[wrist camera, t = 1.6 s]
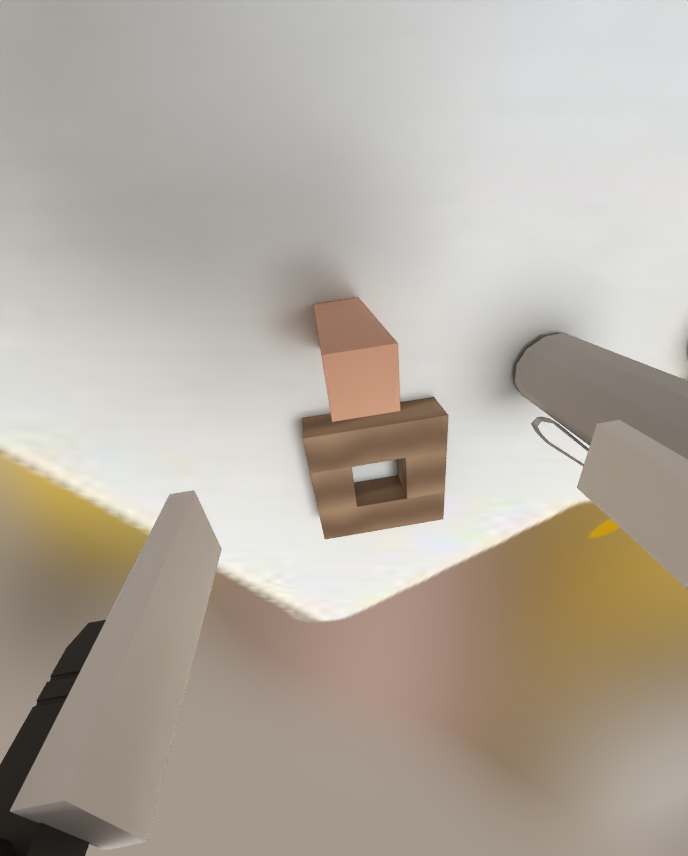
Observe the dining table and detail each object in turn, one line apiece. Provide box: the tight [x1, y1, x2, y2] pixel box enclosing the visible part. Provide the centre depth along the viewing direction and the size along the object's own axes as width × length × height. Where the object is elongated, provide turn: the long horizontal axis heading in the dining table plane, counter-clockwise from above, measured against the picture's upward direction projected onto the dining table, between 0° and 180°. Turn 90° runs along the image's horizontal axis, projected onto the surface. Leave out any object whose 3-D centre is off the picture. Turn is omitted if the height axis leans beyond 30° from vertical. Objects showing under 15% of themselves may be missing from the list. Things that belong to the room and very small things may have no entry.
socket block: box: [303, 397, 448, 539], centre depth 37 cm, size 14×14×4 cm
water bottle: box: [515, 333, 688, 467], centre depth 24 cm, size 9×8×25 cm
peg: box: [313, 297, 400, 422], centre depth 24 cm, size 4×4×14 cm
